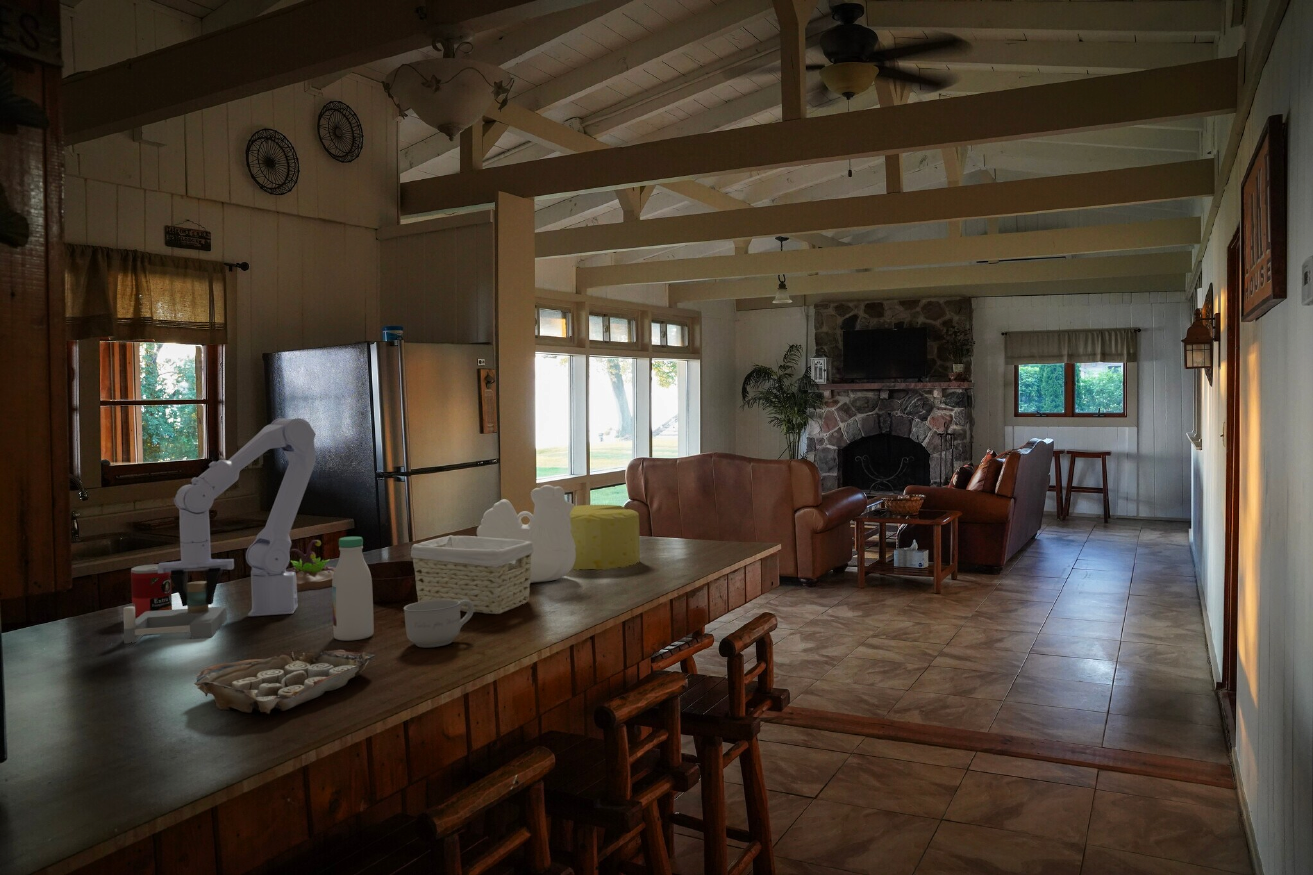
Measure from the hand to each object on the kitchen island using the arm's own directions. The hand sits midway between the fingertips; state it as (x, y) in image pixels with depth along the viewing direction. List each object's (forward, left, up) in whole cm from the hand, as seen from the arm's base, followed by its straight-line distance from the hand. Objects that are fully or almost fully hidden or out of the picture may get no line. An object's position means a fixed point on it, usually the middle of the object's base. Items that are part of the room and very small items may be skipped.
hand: (197, 604), depth 200 cm
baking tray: (-25, +52, -5) cm, 58 cm away
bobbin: (0, 0, -1) cm, 1 cm away
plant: (-18, -41, -5) cm, 45 cm away
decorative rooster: (-73, -26, -5) cm, 78 cm away
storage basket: (-58, -1, -5) cm, 58 cm away
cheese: (-94, -47, -5) cm, 105 cm away
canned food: (+12, -12, -5) cm, 18 cm away
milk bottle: (-33, +20, -5) cm, 39 cm away
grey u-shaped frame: (+3, +4, -4) cm, 7 cm away
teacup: (-50, +30, -5) cm, 58 cm away
